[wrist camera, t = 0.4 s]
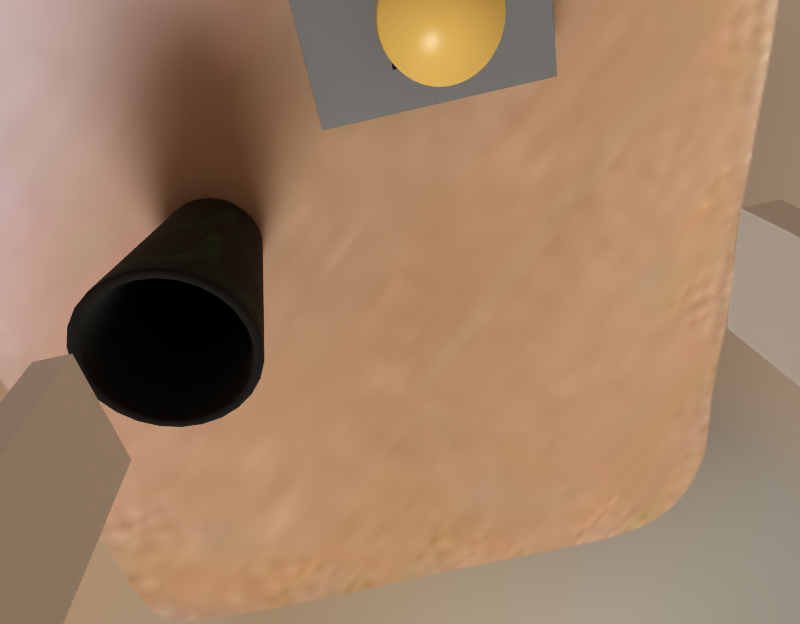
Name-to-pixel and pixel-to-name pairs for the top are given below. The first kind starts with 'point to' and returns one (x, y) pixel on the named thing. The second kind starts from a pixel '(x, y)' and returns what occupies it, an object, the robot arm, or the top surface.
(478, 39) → the button amber
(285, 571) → the top surface
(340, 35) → the panel
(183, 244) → the cup
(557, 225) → the top surface
